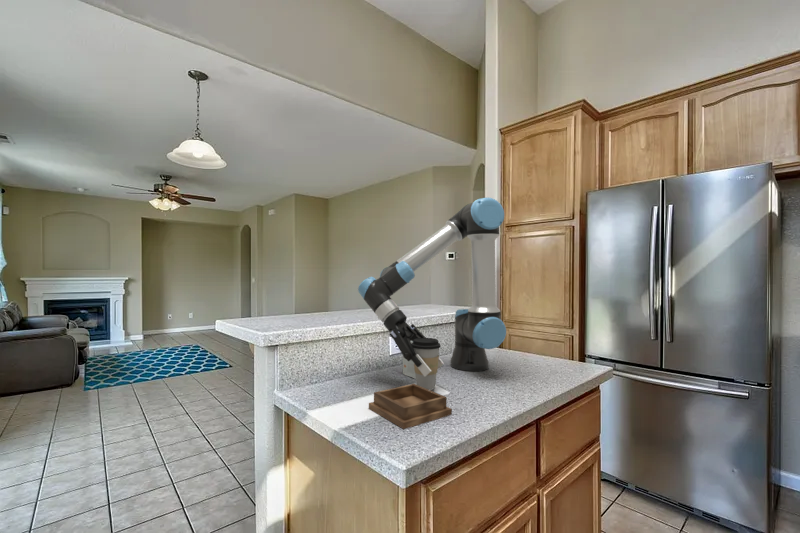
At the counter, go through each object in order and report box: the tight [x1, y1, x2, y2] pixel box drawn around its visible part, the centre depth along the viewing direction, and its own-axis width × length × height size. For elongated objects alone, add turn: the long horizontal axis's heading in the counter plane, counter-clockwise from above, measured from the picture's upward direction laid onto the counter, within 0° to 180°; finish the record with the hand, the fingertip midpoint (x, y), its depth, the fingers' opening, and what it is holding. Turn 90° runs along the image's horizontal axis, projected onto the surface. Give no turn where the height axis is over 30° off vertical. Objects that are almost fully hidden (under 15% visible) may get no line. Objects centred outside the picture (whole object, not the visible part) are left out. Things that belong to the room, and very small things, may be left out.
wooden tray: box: [368, 383, 453, 430], centre depth 99 cm, size 16×16×4 cm
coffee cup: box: [412, 337, 441, 391], centre depth 117 cm, size 9×9×15 cm
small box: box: [402, 341, 416, 380], centre depth 134 cm, size 8×6×13 cm
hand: (434, 369), depth 115 cm, fingers closed on coffee cup, 9 cm apart
